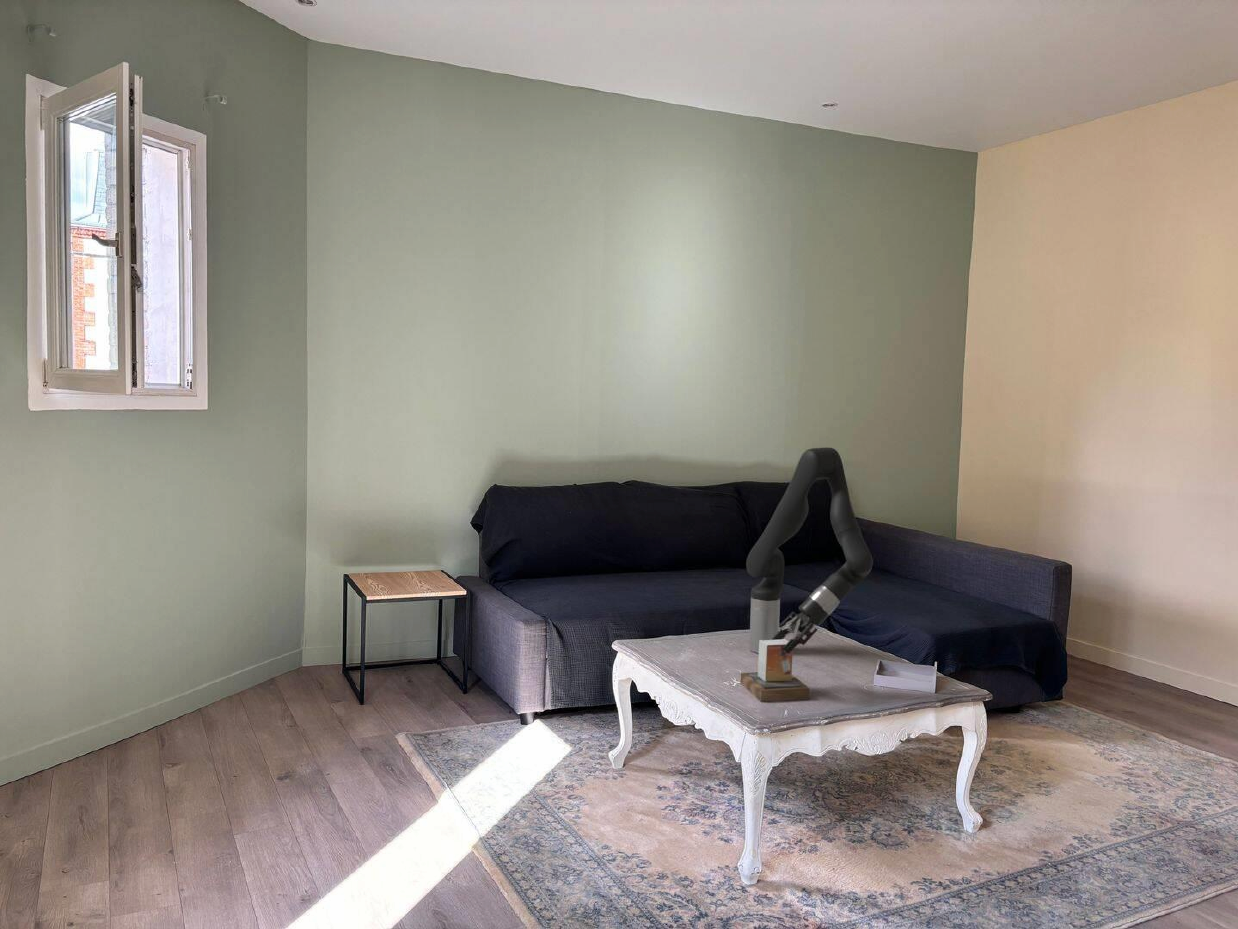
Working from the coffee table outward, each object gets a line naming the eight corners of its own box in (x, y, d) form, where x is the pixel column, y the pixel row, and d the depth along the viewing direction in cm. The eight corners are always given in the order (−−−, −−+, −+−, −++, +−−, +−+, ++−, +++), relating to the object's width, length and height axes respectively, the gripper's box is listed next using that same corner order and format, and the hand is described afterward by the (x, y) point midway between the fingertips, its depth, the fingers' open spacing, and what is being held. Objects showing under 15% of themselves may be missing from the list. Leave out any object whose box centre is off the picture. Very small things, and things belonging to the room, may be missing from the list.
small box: (765, 682, 259) (766, 645, 258) (757, 676, 265) (758, 639, 264) (792, 681, 261) (793, 643, 260) (783, 674, 267) (785, 638, 266)
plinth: (740, 683, 269) (740, 671, 269) (786, 681, 272) (786, 669, 272) (760, 701, 254) (761, 689, 253) (809, 699, 257) (809, 686, 256)
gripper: (800, 590, 270) (761, 631, 268) (821, 602, 256) (780, 645, 254) (817, 608, 271) (778, 648, 270) (839, 620, 257) (798, 663, 256)
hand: (779, 647), depth 262 cm, fingers open, 8 cm apart
